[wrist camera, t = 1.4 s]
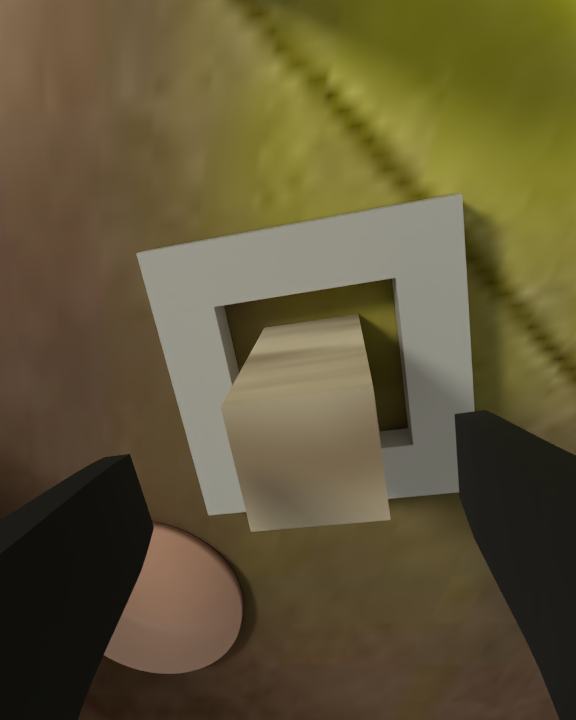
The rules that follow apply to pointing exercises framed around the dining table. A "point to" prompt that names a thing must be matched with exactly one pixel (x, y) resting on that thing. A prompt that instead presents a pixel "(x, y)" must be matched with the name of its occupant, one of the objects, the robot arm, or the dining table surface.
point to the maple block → (307, 428)
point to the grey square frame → (317, 272)
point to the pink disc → (178, 607)
